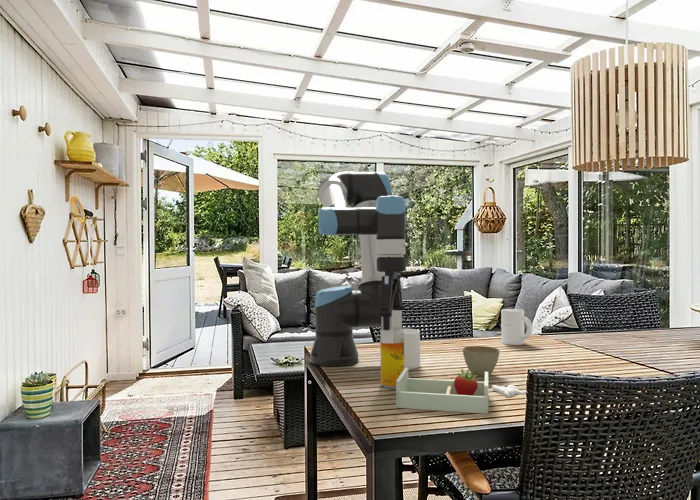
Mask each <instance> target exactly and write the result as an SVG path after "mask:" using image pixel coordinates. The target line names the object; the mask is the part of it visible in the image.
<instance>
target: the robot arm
mask: <svg viewBox="0 0 700 500" xmlns="http://www.w3.org/2000/svg"><path fill="white" fill-rule="evenodd" d="M392 189H393V188H392V183H391V180H390V177H389V176H388V174H387V173H386V172H383V171H374V170H373V171H341V172H337V173H334V174H332V175H330V176H328V177H327V178H325V179H323V181H322V182H321V184H320V185H319V188H318V191H317V192H318V198H319V201H320V203H321V204H322V207H320V208H319V209H318V217H317V218H318V219H317V220H318V221H317V223H318V224H317V225H318V232H319V234H320V235H322V236H331V237H333V236H351V235H352V236H355V235H358V236H359V242H360V243H359V244H360V260H361V262H360V263H361V278H362V279H361V281H360V282H359V284H358V285H357V290H354V289H353V286H352V285H340V286H333V287H327V288H322V289H319V290H318V291H317V292H316V294H315V299H314V300H315V301H314V302H315V304H314V308H315V338H314V341H313V344H312V348H311V352H310V356H309V358H310V359H309V361H310V363H312V364H313V365H316V366H323V367H342V366H343V367H344V366H350V365H353V364H356V363H358V362H359V351H358V348H357V345H356V343H355V339H354V336H353V335H354V334H353V333H354V332H353V328H381V330H382V343H391V344H393V327H400V328H402V329H403V318H402V317H403V314H402V311H405V305H404V304H403V303H404V302H403V294H402V284H401V273H399V272H405V271H406V270H407V265H406V264H407V258H406V256H405V255H406V247H408V246H409V244H408V243H407V242H406V212H407V211H406V210H407V209H406V206H405V205H406V203H405V198H404V197H403V196H400V195H393V194H392V193H393V190H392Z"/></svg>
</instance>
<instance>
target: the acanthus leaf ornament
mask: <svg viewBox="0 0 700 500" xmlns="http://www.w3.org/2000/svg"><path fill="white" fill-rule="evenodd" d="M491 388H492V390H493V392H496V393H499V394H504V396H505V397H507V398H510V397H513V396H515V395H519V394H521V395H527V394H526V392H527V390H523V391H522V390H520V389H518V388H517V387H516V385H513V384H509V385H507V386H504V385H498V384H497V385H495V384H492V386H491Z"/></svg>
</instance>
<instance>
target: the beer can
mask: <svg viewBox="0 0 700 500" xmlns="http://www.w3.org/2000/svg"><path fill="white" fill-rule="evenodd" d="M402 329H403V327H402V328H400V327H393V344H391V343H382V329H381V330H380V332H379V333H380V334H379V335H380V336H379V338H380V339H379V341H380V343H379V344H380V347H379V348H380V350H379V351H380V384H381V385H382V387H383V388H385V389H388V390H390V389H391V390H396V381H397V379H398V378H399V376H400V375H401V373H402V372H403V370H404V332H403V330H402Z"/></svg>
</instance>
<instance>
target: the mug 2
mask: <svg viewBox="0 0 700 500" xmlns="http://www.w3.org/2000/svg"><path fill="white" fill-rule="evenodd" d="M500 313H501V314H500V317H501V318H500V319H501V322H500V324H501V325H500V328H501V330H500V331H501V344H504V345H509V346H510V345H511V346H512V345H513V346H520V345H524V344H525V340H527V339H529V338H531V336H532V334H533V332H534V331H533V330H534V326H533V323H532V321H531V320H530V319H529V318H528V317H527V316H525V310H524V309H520V308H502V309H501V311H500ZM525 325H526V332H525Z"/></svg>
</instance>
